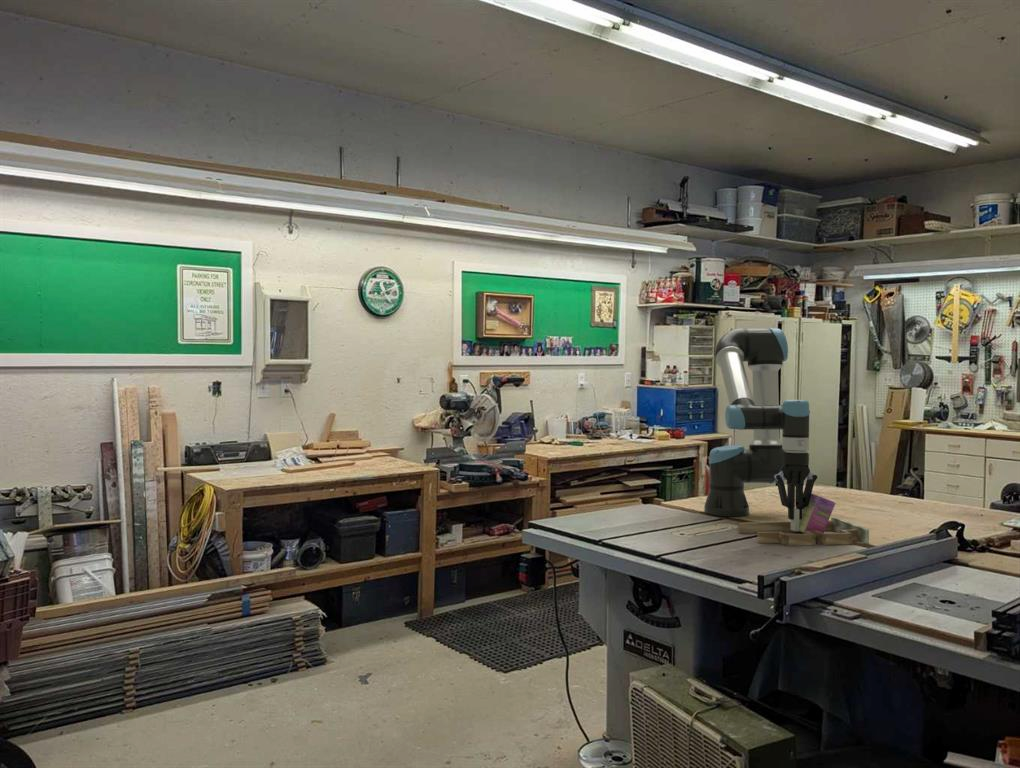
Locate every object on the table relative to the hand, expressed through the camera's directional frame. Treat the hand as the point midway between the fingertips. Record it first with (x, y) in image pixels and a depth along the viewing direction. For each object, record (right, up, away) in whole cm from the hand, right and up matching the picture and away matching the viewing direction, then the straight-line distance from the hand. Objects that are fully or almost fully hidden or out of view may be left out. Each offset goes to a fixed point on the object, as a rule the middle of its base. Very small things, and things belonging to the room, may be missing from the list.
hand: (794, 530), depth 229 cm
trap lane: (+1, -2, -1) cm, 3 cm away
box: (+3, -1, +1) cm, 4 cm away
